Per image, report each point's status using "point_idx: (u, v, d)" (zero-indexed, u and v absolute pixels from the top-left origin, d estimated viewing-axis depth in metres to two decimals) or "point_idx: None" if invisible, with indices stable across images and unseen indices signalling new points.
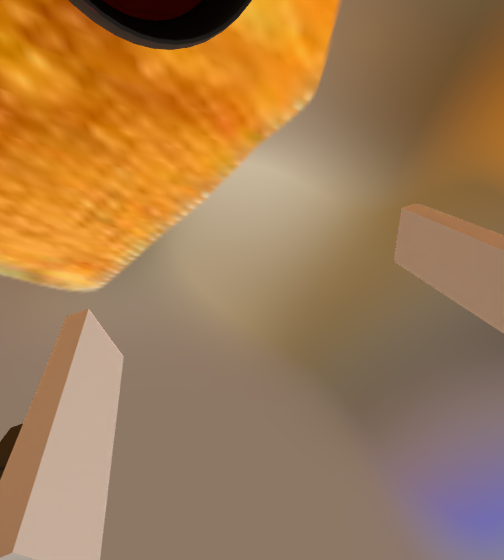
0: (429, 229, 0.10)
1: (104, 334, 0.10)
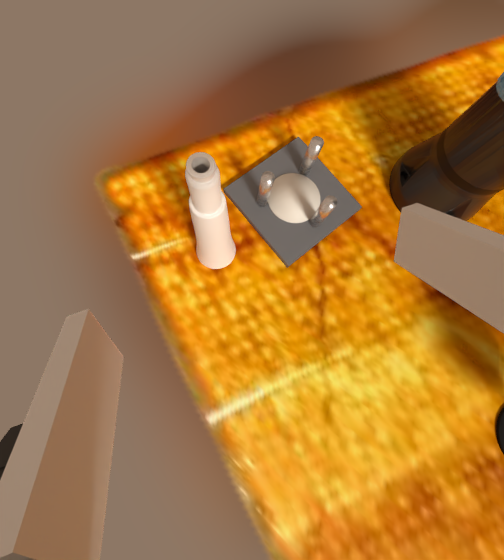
0: (429, 229, 0.10)
1: (104, 334, 0.10)
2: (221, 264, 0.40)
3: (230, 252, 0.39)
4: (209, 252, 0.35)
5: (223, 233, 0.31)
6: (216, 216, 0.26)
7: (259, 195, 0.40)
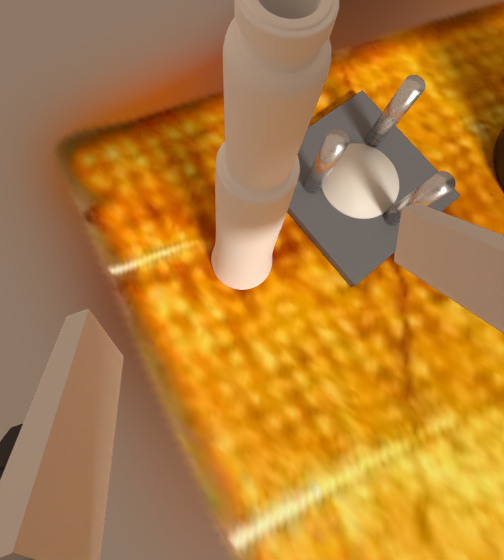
0: (429, 229, 0.10)
1: (104, 334, 0.10)
2: (252, 283, 0.25)
3: (268, 265, 0.24)
4: (238, 267, 0.21)
5: (274, 236, 0.16)
6: (280, 198, 0.11)
7: (313, 174, 0.25)
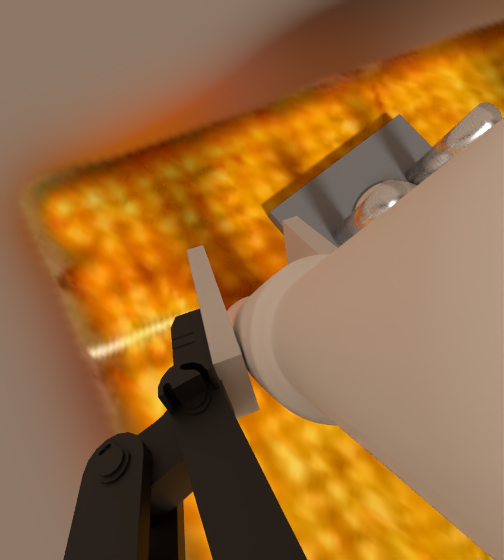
0: (296, 240, 0.12)
1: None
2: None
3: None
4: None
5: None
6: None
7: (350, 228, 0.20)
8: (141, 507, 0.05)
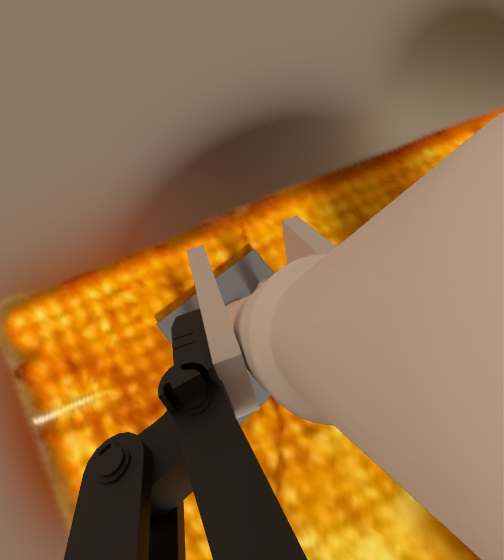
0: (296, 240, 0.12)
1: None
2: None
3: None
4: None
5: None
6: None
7: None
8: (141, 507, 0.05)
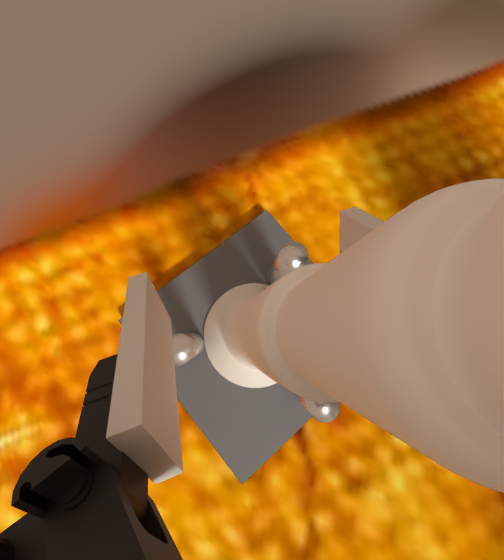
0: (360, 231, 0.11)
1: (158, 296, 0.12)
2: None
3: None
4: None
5: None
6: None
7: None
8: None
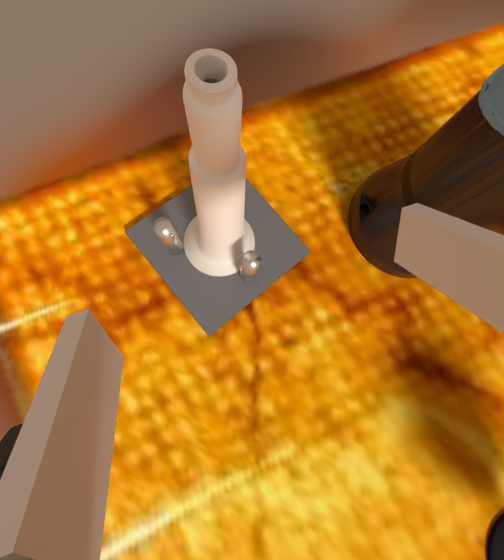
0: (429, 229, 0.10)
1: (104, 334, 0.10)
2: (230, 258, 0.31)
3: (242, 242, 0.30)
4: (216, 241, 0.26)
5: (237, 211, 0.22)
6: (231, 180, 0.17)
7: None
8: None
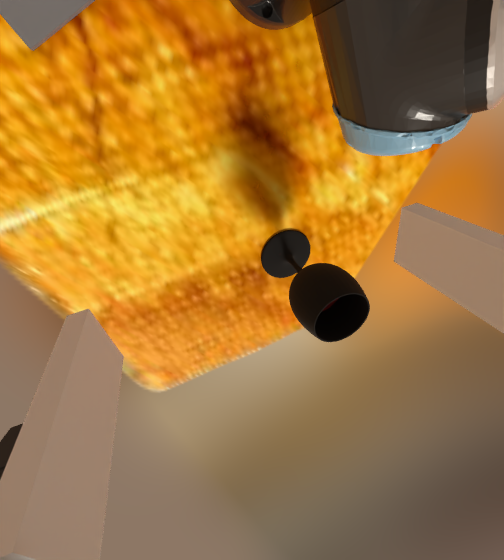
0: (429, 229, 0.10)
1: (104, 334, 0.10)
2: None
3: None
4: None
5: None
6: None
7: None
8: None
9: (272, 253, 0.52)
